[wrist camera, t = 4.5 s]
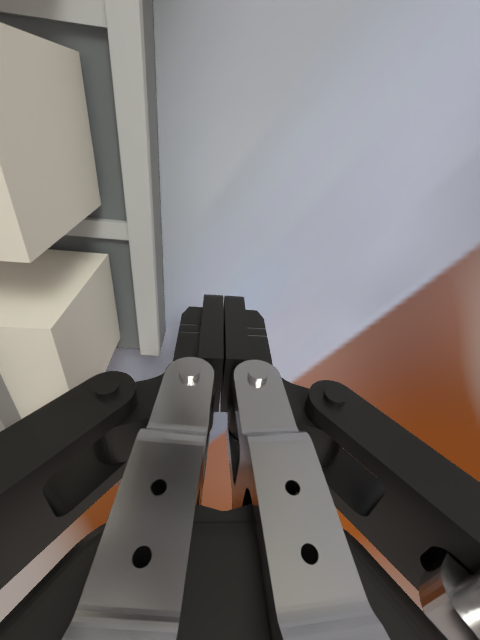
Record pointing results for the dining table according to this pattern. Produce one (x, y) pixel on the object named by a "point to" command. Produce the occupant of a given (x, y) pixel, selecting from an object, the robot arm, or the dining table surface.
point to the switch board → (115, 148)
